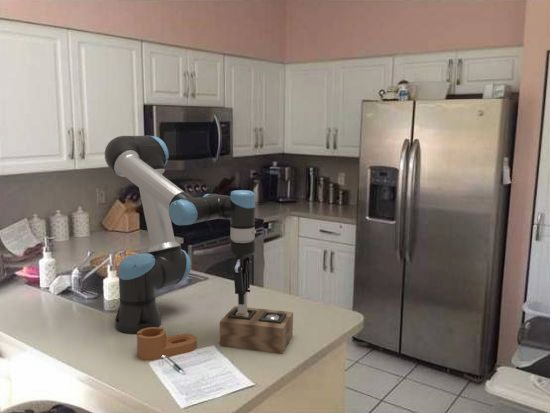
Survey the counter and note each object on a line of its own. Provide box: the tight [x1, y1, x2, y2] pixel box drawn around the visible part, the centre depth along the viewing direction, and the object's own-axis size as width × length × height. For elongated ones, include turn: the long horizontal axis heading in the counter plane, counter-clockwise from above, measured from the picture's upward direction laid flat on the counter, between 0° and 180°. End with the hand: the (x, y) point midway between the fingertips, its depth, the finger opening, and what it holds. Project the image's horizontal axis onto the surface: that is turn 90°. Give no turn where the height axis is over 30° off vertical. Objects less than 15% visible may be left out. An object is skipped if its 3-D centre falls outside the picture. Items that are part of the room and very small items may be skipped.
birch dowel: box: [236, 312, 249, 317], centre depth 159 cm, size 4×4×8 cm
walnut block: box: [219, 305, 294, 355], centre depth 158 cm, size 20×14×9 cm
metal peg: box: [266, 314, 279, 320], centre depth 157 cm, size 4×4×8 cm
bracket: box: [136, 326, 198, 362], centre depth 150 cm, size 18×8×7 cm, turn 120°
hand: (242, 312), depth 159 cm, fingers closed, pressing on birch dowel
